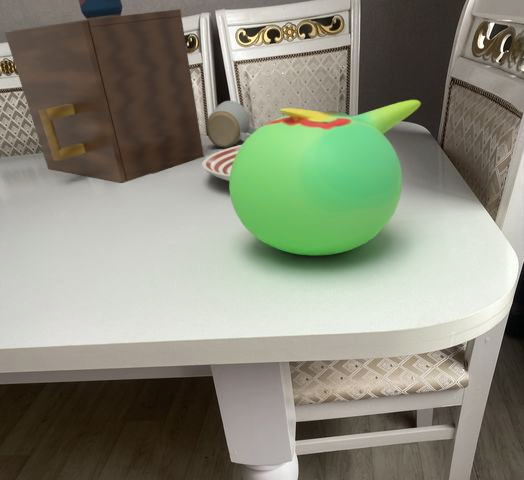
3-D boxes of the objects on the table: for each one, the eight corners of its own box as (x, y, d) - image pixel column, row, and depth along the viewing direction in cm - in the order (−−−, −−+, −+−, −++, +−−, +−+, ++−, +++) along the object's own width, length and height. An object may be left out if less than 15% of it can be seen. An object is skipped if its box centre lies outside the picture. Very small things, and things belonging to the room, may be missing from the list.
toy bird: (209, 258, 59) (185, 117, 51) (299, 211, 69) (291, 87, 61) (347, 295, 48) (344, 124, 40) (429, 232, 58) (440, 86, 50)
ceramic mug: (206, 150, 105) (201, 108, 101) (217, 140, 112) (211, 101, 108) (258, 147, 103) (254, 105, 99) (265, 138, 110) (262, 98, 106)
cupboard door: (92, 192, 87) (46, 25, 74) (21, 176, 103) (-28, 36, 90) (126, 181, 91) (87, 20, 78) (52, 167, 107) (9, 31, 94)
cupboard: (127, 181, 91) (88, 19, 78) (53, 167, 107) (10, 30, 94) (203, 156, 101) (180, 9, 88) (126, 146, 117) (96, 20, 104)
